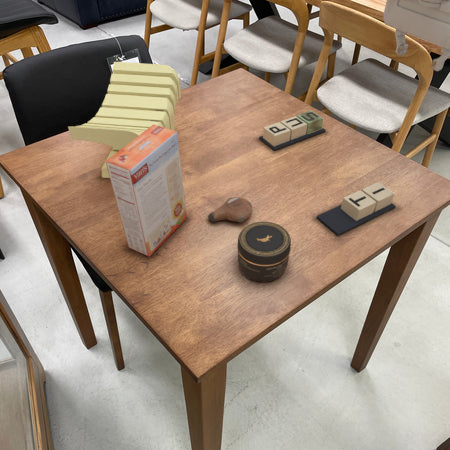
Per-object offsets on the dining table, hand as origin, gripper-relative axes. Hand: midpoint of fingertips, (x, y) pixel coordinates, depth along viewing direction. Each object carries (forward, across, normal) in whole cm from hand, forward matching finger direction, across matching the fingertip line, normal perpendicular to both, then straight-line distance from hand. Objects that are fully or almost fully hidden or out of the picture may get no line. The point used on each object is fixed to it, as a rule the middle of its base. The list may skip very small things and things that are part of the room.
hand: (417, 61), depth 90 cm
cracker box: (+23, +8, +60) cm, 64 cm away
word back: (+23, +23, +12) cm, 35 cm away
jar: (+24, -12, +47) cm, 54 cm away
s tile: (+23, +23, +6) cm, 33 cm away
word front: (+24, -10, +20) cm, 32 cm away
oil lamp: (+23, +4, +44) cm, 50 cm away
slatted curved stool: (+22, +33, +52) cm, 66 cm away
